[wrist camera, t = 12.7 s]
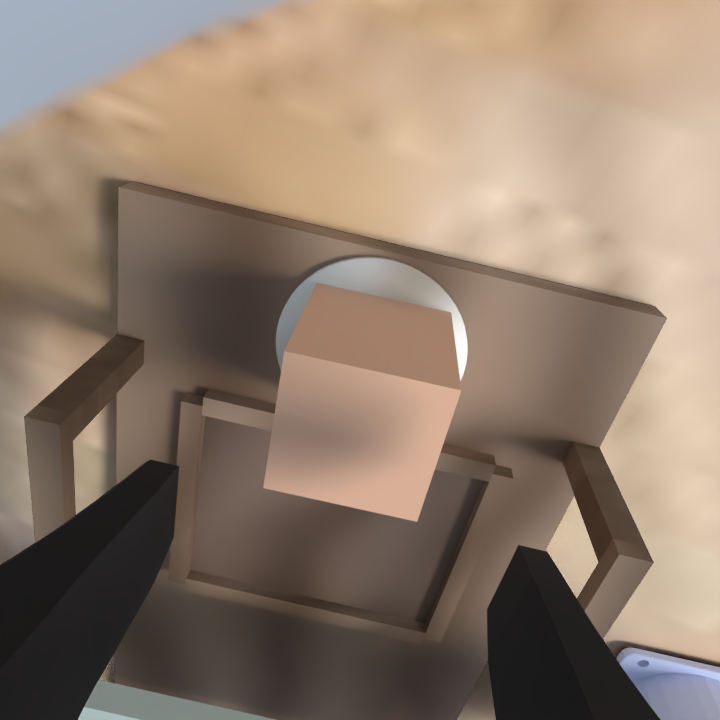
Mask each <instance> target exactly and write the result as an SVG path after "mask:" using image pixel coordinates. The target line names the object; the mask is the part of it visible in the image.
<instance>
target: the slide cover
mask: <svg viewBox="0 0 720 720" xmlns="http://www.w3.org/2000/svg"><path fill="white" fill-rule="evenodd" d="M78 720H275V719H271V718H267V717H262V716H258V715H253V714H249V713H244V712H240V711H235V710H231V709H226V708H222V707H218V706H213V705H209V704H204V703H200V702H195V701H191V700H186V699H182V698H177V697H173V696H168V695H164V694H160V693H155V692H151V691H146V690H142V689H137V688H133V687H128V686H124V685H119V684H115V683H110V682H106V681H102V680H98V682H97V684H96V685H95V687H94V689H93V691H92V693H91V695H90V697H89V699H88V700H87V702H86V704H85V706H84V708H83V710H82V712H81V714H80V716H79V718H78Z"/></svg>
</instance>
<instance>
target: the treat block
mask: <svg viewBox="0 0 720 720" xmlns="http://www.w3.org/2000/svg"><path fill="white" fill-rule="evenodd" d="M460 393H461V383H460V376H459V368H458V360H457V353H456V345H455V337H454V330H453V322H452V314H451V312H446V311H442V310H437V309H433V308H428V307H424V306H420V305H415V304H411V303H406V302H402V301H397V300H393V299H388V298H384V297H379V296H375V295H370V294H366V293H362V292H357V291H353V290H348V289H344V288H339V287H335V286H330V285H326V284H321V283H316V285H315V287H314V289H313V291H312V293H311V296H310V298H309V300H308V302H307V304H306V306H305V308H304V310H303V312H302V315H301V317H300V319H299V321H298V323H297V325H296V327H295V329H294V331H293V334H292V336H291V338H290V340H289V342H288V344H287V346H286V348H285V350H284V356H283V362H282V369H281V375H280V382H279V388H278V395H277V401H276V408H275V414H274V421H273V427H272V434H271V440H270V447H269V453H268V460H267V466H266V473H265V480H264V486H263V488H266V489H270V490H275V491H279V492H284V493H288V494H293V495H297V496H302V497H306V498H311V499H316V500H320V501H325V502H329V503H334V504H338V505H343V506H347V507H352V508H357V509H361V510H366V511H370V512H375V513H379V514H384V515H388V516H393V517H398V518H402V519H407V520H411V521H416V522H417V521H418V518H419V515H420V512H421V509H422V506H423V503H424V500H425V497H426V494H427V491H428V488H429V485H430V482H431V479H432V476H433V473H434V470H435V467H436V464H437V461H438V458H439V455H440V452H441V449H442V447H443V444H444V441H445V438H446V435H447V432H448V429H449V426H450V423H451V420H452V417H453V414H454V411H455V408H456V405H457V402H458V399H459V396H460Z"/></svg>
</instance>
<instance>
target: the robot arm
mask: <svg viewBox="0 0 720 720" xmlns="http://www.w3.org/2000/svg"><path fill="white" fill-rule="evenodd" d="M178 477H179V466H176V465H172V464H168V463H164V462H159V461H155V460H149V461H147V462H145V463H144V464H142V465H141V466H140V467H139V468H137V469H136V470H135V471H134V472H132V473H131V474H130V475H129V476H127V477H126V478H125V479H123V480H122V481H121V482H120V483H118V484H117V485H116V486H114V487H113V488H112V489H110V490H109V491H108V492H107V493H105V494H104V495H103V496H101V497H100V498H99V499H97V500H96V501H95V502H93V503H92V504H90V505H89V506H88V507H86V508H85V509H84V510H82V511H81V512H79V513H78V514H77V515H75V516H74V517H72V518H71V519H70V520H68V521H67V522H65V523H64V524H63V525H61V526H60V527H58V528H57V529H55V530H54V531H52V532H51V533H49V534H48V535H46V536H45V537H43V538H42V539H40V540H39V541H37V542H36V543H34V544H32V545H31V546H29V547H28V548H26V549H25V550H23V551H22V552H20V553H19V554H17V555H16V556H14V557H12V558H11V559H9V560H7V561H6V562H4V563H3V564H1V565H0V720H78V718H79V716H80V714H81V712H82V710H83V708H84V706H85V704H86V702H87V700H88V699H89V697H90V695H91V693H92V691H93V689H94V687H95V685H96V684H97V682H98V680H99V679H100V677H101V675H102V673H103V672H104V670H105V668H106V666H107V665H108V663H109V661H110V659H111V658H112V656H113V654H114V652H115V651H116V649H117V647H118V645H119V644H120V642H121V640H122V639H123V637H124V635H125V633H126V632H127V630H128V628H129V626H130V625H131V623H132V621H133V619H134V618H135V616H136V614H137V612H138V611H139V609H140V607H141V605H142V604H143V602H144V600H145V598H146V597H147V595H148V593H149V591H150V589H151V588H152V586H153V584H154V582H155V580H156V577H157V575H158V573H159V571H160V568H161V566H162V564H163V562H164V559H165V557H166V555H167V552H168V550H169V547H170V545H171V543H172V540H173V538H174V529H175V516H176V503H177V490H178ZM487 644H488V663H489V671H490V679H491V686H492V694H493V701H494V708H495V715H496V720H720V667H716V666H712V665H707V664H703V663H698V662H694V661H690V660H685V659H681V658H677V657H672V656H668V655H664V654H659V653H655V652H650V651H646V650H642V649H637V648H631V647H630V648H625V649H623V650H622V651H621V652H620V653H619V655H618V656H617V657H616V658H615V657H614V655H613V654H612V652H611V651H610V649H609V648H608V646H607V645H606V643H605V642H604V640H603V639H602V637H601V636H600V634H599V633H598V631H597V630H596V628H595V627H594V625H593V624H592V622H591V621H590V619H589V617H588V616H587V614H586V613H585V611H584V610H583V608H582V606H581V605H580V603H579V602H578V600H577V599H576V597H575V595H574V594H573V592H572V591H571V589H570V587H569V586H568V584H567V583H566V581H565V579H564V578H563V576H562V574H561V573H560V571H559V570H558V568H557V566H556V565H555V563H554V562H553V560H552V559H551V557H550V556H549V554H548V552H547V551H542V550H538V549H534V548H529V547H525V546H521V545H518V547H517V549H516V551H515V553H514V555H513V557H512V559H511V561H510V563H509V565H508V567H507V569H506V571H505V573H504V576H503V578H502V580H501V582H500V584H499V586H498V588H497V590H496V592H495V594H494V596H493V598H492V600H491V602H490V604H489V606H488V608H487Z"/></svg>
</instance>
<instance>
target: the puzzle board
mask: <svg viewBox="0 0 720 720" xmlns="http://www.w3.org/2000/svg"><path fill="white" fill-rule="evenodd" d="M316 283H321V284H326V285H330V286H335V287H339V288H344V289H348V290H353V291H357V292H362V293H366V294H370V295H375V296H379V297H384V298H388V299H393V300H397V301H402V302H406V303H411V304H415V305H420V306H424V307H428V308H433V309H437V310H442V311H446V312H451V314H452V322H453V330H454V337H455V345H456V353H457V360H458V368H459V376H460V383H461V393H460V396H459V399H458V402H457V405H456V408H455V411H454V414H453V417H452V420H451V423H450V426H449V429H448V432H447V435H446V438H445V441H444V444H443V447H442V449H441V452H440V455H439V458H438V461H437V464H436V467H435V470H434V473H433V476H432V479H431V482H430V485H429V488H428V491H427V494H426V497H425V500H424V503H423V506H422V509H421V512H420V515H419V518H418V521H417V522H416V521H411V520H407V519H402V518H398V517H393V516H388V515H384V514H379V513H375V512H370V511H366V510H361V509H357V508H352V507H347V506H343V505H338V504H334V503H329V502H325V501H320V500H316V499H311V498H306V497H302V496H297V495H293V494H288V493H284V492H279V491H275V490H270V489H266V488H263V486H264V480H265V473H266V466H267V460H268V453H269V447H270V440H271V434H272V427H273V421H274V414H275V408H276V401H277V395H278V388H279V382H280V375H281V369H282V362H283V356H284V350H285V348H286V346H287V344H288V342H289V340H290V338H291V336H292V334H293V331H294V329H295V327H296V325H297V323H298V321H299V319H300V317H301V315H302V312H303V310H304V308H305V306H306V304H307V302H308V300H309V298H310V296H311V293H312V291H313V289H314V287H315V285H316ZM666 319H667V318H666V317H665V316H664V315H663V314H662V313H661V312H660V311H659V310H658V309H657V308H656V307H655V306H650V305H646V304H642V303H638V302H634V301H630V300H625V299H621V298H617V297H613V296H609V295H605V294H600V293H596V292H592V291H588V290H584V289H580V288H575V287H571V286H567V285H563V284H559V283H555V282H550V281H546V280H542V279H538V278H534V277H529V276H525V275H521V274H517V273H513V272H509V271H504V270H500V269H496V268H492V267H488V266H484V265H479V264H475V263H471V262H467V261H463V260H459V259H454V258H450V257H446V256H442V255H438V254H434V253H429V252H425V251H421V250H417V249H413V248H409V247H404V246H400V245H396V244H392V243H388V242H383V241H379V240H375V239H371V238H367V237H363V236H358V235H354V234H350V233H346V232H342V231H338V230H333V229H329V228H325V227H321V226H317V225H313V224H308V223H304V222H300V221H296V220H292V219H288V218H283V217H279V216H275V215H271V214H267V213H263V212H258V211H254V210H250V209H246V208H242V207H237V206H233V205H229V204H225V203H221V202H217V201H212V200H208V199H204V198H200V197H196V196H192V195H187V194H183V193H179V192H175V191H171V190H167V189H162V188H158V187H154V186H150V185H146V184H142V183H137V182H133V181H132V182H130V183H127V184H125V185H122V186H120V187H118V302H117V335H116V336H115V337H114V338H113V339H111V340H110V341H109V342H108V343H107V344H106V345H105V346H103V347H102V348H101V349H100V350H99V351H98V352H97V353H96V354H94V355H93V356H92V357H91V358H90V359H89V360H88V361H87V362H85V363H84V364H83V365H82V366H81V367H80V368H79V369H78V370H76V371H75V372H74V373H73V374H72V375H71V376H70V377H68V378H67V379H66V380H65V381H64V382H63V383H62V384H61V385H59V386H58V387H57V388H56V389H55V390H54V391H53V392H52V393H50V394H49V395H48V396H47V397H46V398H45V399H44V400H43V401H41V402H40V403H39V404H38V405H37V406H36V407H35V408H33V409H32V410H31V411H30V412H29V413H28V414H27V415H26V416H24V420H25V431H26V443H27V454H28V465H29V477H30V488H31V500H32V511H33V523H34V534H35V543H36V542H37V541H39V540H40V539H42V538H43V537H45V536H46V535H48V534H49V533H51V532H52V531H54V530H55V529H57V528H58V527H60V526H61V525H63V524H64V523H65V522H67V521H68V520H70V519H71V518H72V517H74V516H75V515H76V512H75V486H74V459H73V440H74V439H75V438H76V437H77V436H78V435H79V434H80V432H81V431H82V430H83V429H84V428H85V427H86V426H87V425H88V424H89V423H90V422H91V421H92V419H93V418H94V417H95V416H96V415H97V414H98V413H99V412H100V411H101V410H102V409H103V408H104V407H105V405H106V404H107V403H108V402H109V401H110V400H111V399H112V398H113V397H114V396H115V395H116V394H117V427H116V485H117V484H118V483H120V482H121V481H122V480H123V479H125V478H126V477H127V476H129V475H130V474H131V473H132V472H134V471H135V470H136V469H137V468H139V467H140V466H141V465H142V464H144V463H145V462H147V461H149V460H155V461H159V462H164V463H168V464H172V465H176V466H179V477H178V490H177V503H176V516H175V529H174V538H173V540H172V543H171V545H170V547H169V550H168V552H167V555H166V557H165V559H164V562H163V564H162V566H161V568H160V571H159V573H158V575H157V577H156V580H155V582H154V584H153V586H152V588H151V589H150V591H149V593H148V595H147V597H146V598H145V600H144V602H143V604H142V605H141V607H140V609H139V611H138V612H137V614H136V616H135V618H134V619H133V621H132V623H131V625H130V626H129V628H128V630H127V632H126V633H125V635H124V637H123V639H122V640H121V642H120V644H119V645H118V647H117V649H116V651H115V676H114V683H115V684H119V685H124V686H128V687H133V688H137V689H142V690H146V691H151V692H155V693H160V694H164V695H168V696H173V697H177V698H182V699H186V700H191V701H195V702H200V703H204V704H209V705H213V706H218V707H222V708H226V709H231V710H235V711H240V712H244V713H249V714H253V715H258V716H262V717H267V718H271V719H275V720H457V718H458V716H459V714H460V712H461V711H462V709H463V707H464V705H465V703H466V701H467V699H468V697H469V695H470V693H471V691H472V690H473V688H474V686H475V684H476V682H477V680H478V678H479V676H480V674H481V672H482V670H483V669H484V667H485V665H486V663H487V661H488V644H487V608H488V606H489V604H490V602H491V600H492V598H493V596H494V594H495V592H496V590H497V588H498V586H499V584H500V582H501V580H502V578H503V576H504V573H505V571H506V569H507V567H508V565H509V563H510V561H511V559H512V557H513V555H514V553H515V551H516V549H517V547H518V545H521V546H525V547H529V548H534V549H538V550H542V551H545V550H546V548H547V546H548V545H549V543H550V541H551V539H552V537H553V535H554V533H555V531H556V529H557V527H558V525H559V524H560V522H561V520H562V518H563V516H564V514H565V512H566V510H567V508H568V506H569V504H570V503H571V501H572V499H573V497H574V496H575V498H576V501H577V504H578V507H579V509H580V512H581V515H582V518H583V520H584V523H585V526H586V529H587V532H588V534H589V537H590V540H591V543H592V545H593V548H594V551H595V554H596V556H597V559H598V562H599V563H598V564H597V566H596V568H595V569H594V571H593V573H592V574H591V576H590V578H589V579H588V581H587V583H586V584H585V586H584V588H583V590H582V591H581V593H580V595H579V596H578V598H577V600H578V602H579V603H580V605H581V606H582V608H583V610H584V611H585V613H586V614H587V616H588V617H589V619H590V621H591V622H592V624H593V625H594V627H595V628H596V630H597V631H598V633H599V634H600V636H601V637H602V639H603V638H604V637H605V635H606V634H607V632H608V631H609V629H610V628H611V626H612V624H613V623H614V621H615V620H616V618H617V617H618V615H619V614H620V612H621V611H622V609H623V608H624V606H625V605H626V603H627V602H628V600H629V599H630V597H631V596H632V594H633V593H634V591H635V590H636V588H637V587H638V585H639V584H640V582H641V581H642V579H643V578H644V576H645V575H646V573H647V572H648V570H649V569H650V567H651V566H652V564H653V563H654V562H653V560H652V558H651V556H650V554H649V552H648V550H647V547H646V545H645V543H644V541H643V539H642V537H641V535H640V533H639V531H638V528H637V526H636V524H635V522H634V520H633V518H632V516H631V514H630V511H629V509H628V507H627V505H626V503H625V501H624V499H623V497H622V495H621V492H620V490H619V488H618V486H617V484H616V482H615V480H614V478H613V475H612V473H611V471H610V469H609V467H608V465H607V463H606V461H605V459H604V456H603V454H602V452H601V450H600V448H599V447H600V445H601V443H602V441H603V440H604V438H605V436H606V434H607V432H608V430H609V428H610V426H611V424H612V422H613V421H614V419H615V417H616V415H617V413H618V411H619V409H620V407H621V405H622V403H623V401H624V400H625V398H626V396H627V394H628V392H629V390H630V388H631V386H632V384H633V382H634V380H635V379H636V377H637V375H638V373H639V371H640V369H641V367H642V365H643V363H644V361H645V359H646V358H647V356H648V354H649V352H650V350H651V348H652V346H653V344H654V342H655V340H656V338H657V337H658V335H659V333H660V331H661V329H662V327H663V325H664V323H665V321H666Z"/></svg>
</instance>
